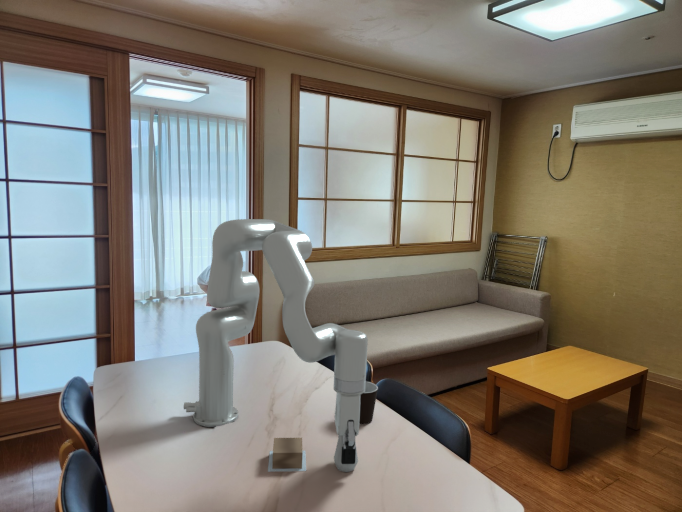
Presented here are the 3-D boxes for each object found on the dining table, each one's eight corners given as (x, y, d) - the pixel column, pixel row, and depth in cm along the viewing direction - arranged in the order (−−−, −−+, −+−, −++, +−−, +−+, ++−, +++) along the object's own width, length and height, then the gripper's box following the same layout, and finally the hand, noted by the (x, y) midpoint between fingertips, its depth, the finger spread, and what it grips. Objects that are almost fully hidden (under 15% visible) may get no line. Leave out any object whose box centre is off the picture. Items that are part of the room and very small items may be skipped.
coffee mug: (374, 427, 134) (375, 394, 132) (344, 423, 135) (346, 390, 134) (378, 410, 145) (380, 379, 144) (351, 406, 147) (353, 376, 145)
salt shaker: (332, 461, 115) (335, 411, 114) (355, 461, 116) (358, 411, 114) (334, 475, 109) (336, 423, 108) (358, 475, 110) (361, 423, 108)
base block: (272, 468, 110) (272, 452, 110) (273, 452, 117) (274, 437, 117) (301, 468, 111) (302, 452, 111) (301, 452, 118) (302, 437, 117)
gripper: (330, 369, 118) (328, 436, 120) (337, 398, 101) (333, 475, 103) (360, 370, 119) (356, 436, 121) (371, 398, 102) (367, 475, 104)
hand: (346, 453), depth 112 cm, fingers open, 7 cm apart
